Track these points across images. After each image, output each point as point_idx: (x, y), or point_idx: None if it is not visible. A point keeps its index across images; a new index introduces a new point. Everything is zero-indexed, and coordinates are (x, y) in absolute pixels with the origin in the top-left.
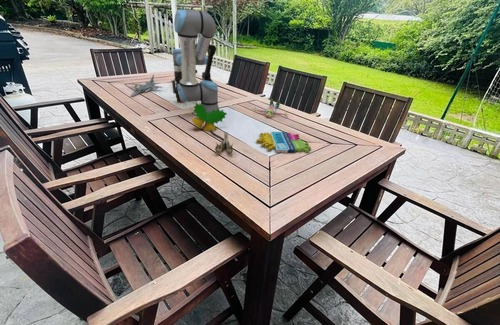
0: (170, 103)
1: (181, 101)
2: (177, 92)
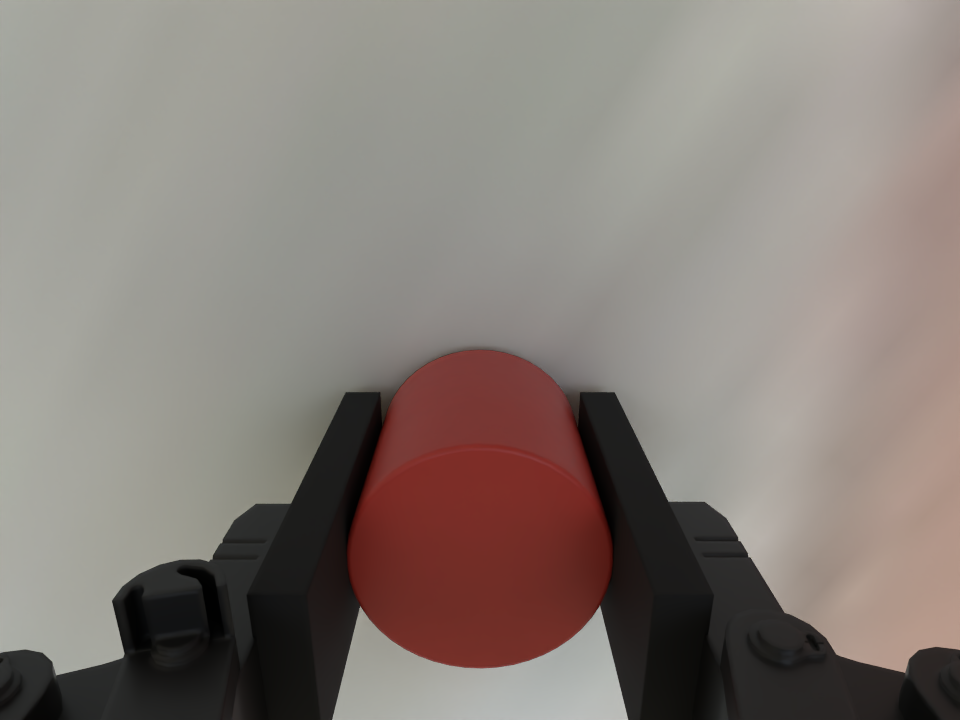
0: (846, 491)
1: (531, 373)
2: (814, 697)
